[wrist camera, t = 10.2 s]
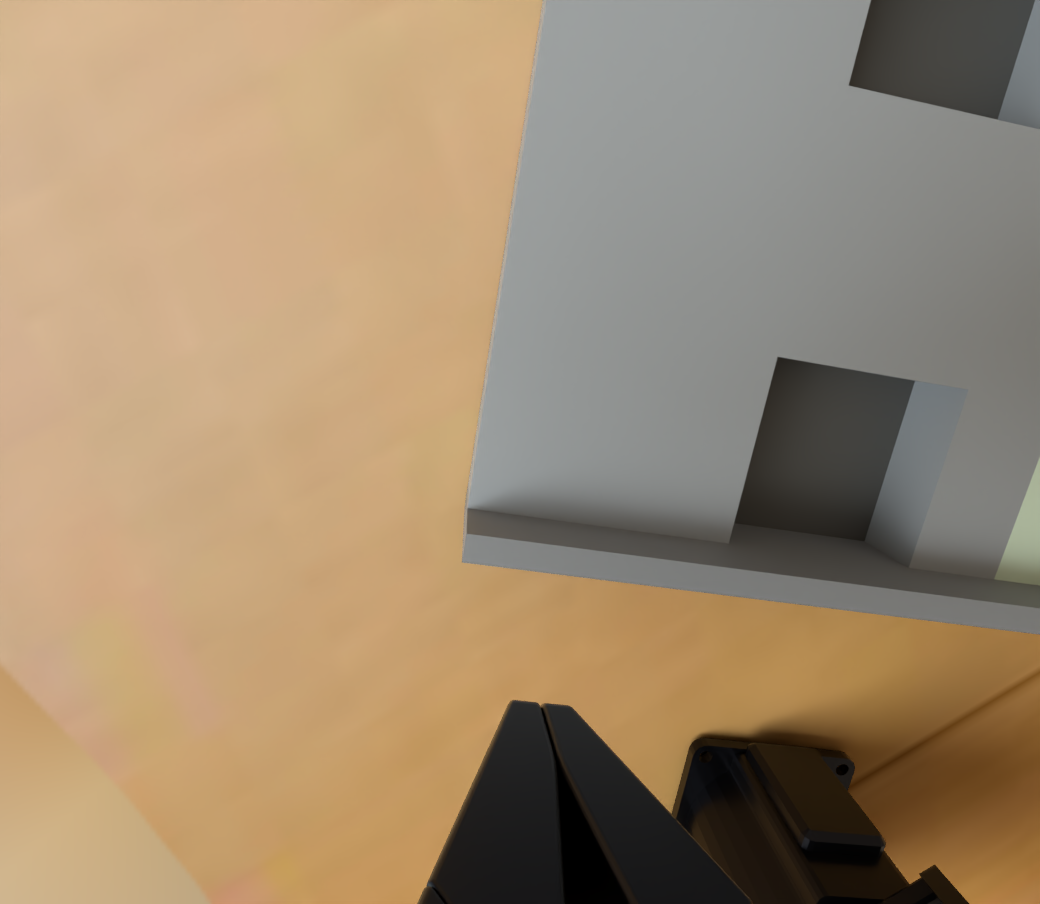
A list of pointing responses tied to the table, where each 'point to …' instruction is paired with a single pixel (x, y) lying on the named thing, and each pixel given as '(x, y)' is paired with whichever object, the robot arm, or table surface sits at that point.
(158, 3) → the table surface
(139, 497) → the table surface
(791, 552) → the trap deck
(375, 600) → the table surface
